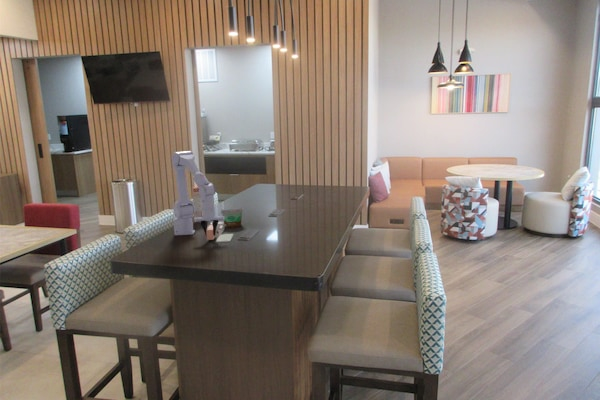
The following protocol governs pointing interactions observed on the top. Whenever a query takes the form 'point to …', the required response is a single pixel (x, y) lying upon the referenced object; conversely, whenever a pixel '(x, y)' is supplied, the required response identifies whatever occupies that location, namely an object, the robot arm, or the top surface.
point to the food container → (232, 217)
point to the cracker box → (197, 202)
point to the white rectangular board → (224, 238)
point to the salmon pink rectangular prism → (210, 233)
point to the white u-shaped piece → (219, 227)
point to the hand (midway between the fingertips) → (210, 235)
